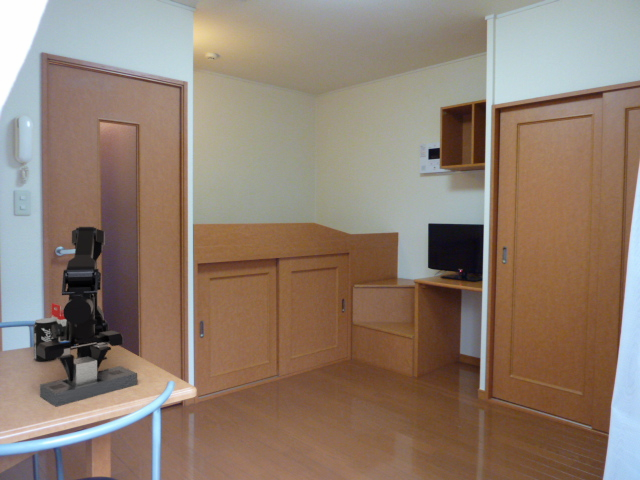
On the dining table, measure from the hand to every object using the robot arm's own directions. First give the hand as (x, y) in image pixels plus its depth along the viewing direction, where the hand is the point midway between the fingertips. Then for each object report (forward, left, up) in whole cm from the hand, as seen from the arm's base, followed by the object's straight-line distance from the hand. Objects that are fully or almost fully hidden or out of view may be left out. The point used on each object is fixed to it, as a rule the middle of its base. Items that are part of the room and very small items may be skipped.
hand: (82, 378), depth 120 cm
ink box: (-14, -46, -4) cm, 48 cm away
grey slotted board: (-2, 0, -4) cm, 4 cm away
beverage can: (-5, -36, -4) cm, 36 cm away
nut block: (0, 0, -2) cm, 2 cm away
